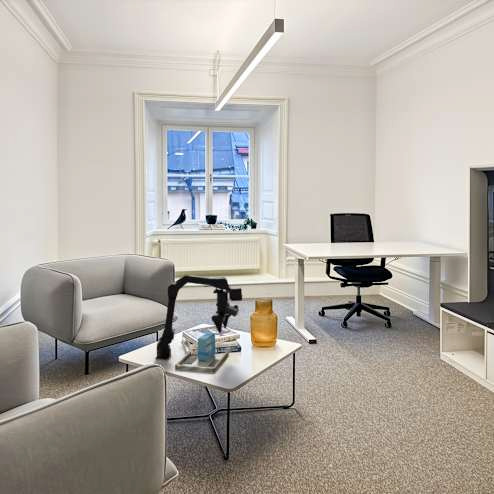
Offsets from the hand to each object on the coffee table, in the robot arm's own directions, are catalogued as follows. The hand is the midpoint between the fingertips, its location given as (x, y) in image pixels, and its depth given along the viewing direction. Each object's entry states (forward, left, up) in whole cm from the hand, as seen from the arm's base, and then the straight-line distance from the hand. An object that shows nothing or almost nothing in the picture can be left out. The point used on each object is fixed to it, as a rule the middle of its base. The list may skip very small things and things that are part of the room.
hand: (222, 330), depth 246 cm
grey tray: (-8, -10, -14) cm, 19 cm away
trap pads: (-8, -11, -14) cm, 19 cm away
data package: (-8, -4, -14) cm, 17 cm away
